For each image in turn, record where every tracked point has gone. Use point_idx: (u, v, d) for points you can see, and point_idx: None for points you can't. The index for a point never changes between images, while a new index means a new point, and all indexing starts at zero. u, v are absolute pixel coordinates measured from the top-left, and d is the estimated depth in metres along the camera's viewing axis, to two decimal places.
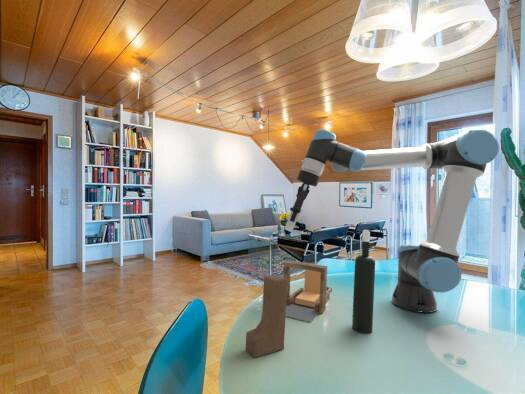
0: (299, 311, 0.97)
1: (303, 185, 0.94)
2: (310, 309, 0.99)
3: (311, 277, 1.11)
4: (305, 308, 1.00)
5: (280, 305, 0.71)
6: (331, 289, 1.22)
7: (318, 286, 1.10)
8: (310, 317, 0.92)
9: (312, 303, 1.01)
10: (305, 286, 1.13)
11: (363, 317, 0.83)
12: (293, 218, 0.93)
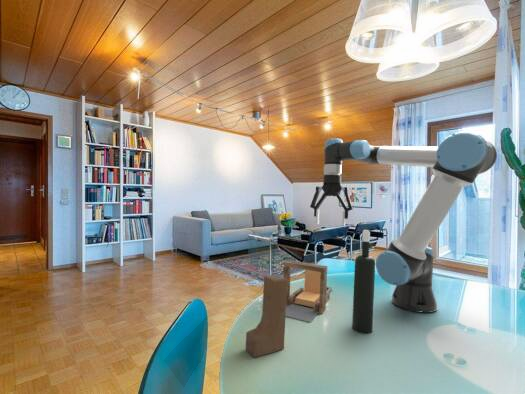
0: (299, 311, 0.97)
1: None
2: (310, 309, 0.99)
3: (311, 277, 1.11)
4: (305, 308, 1.00)
5: (280, 305, 0.71)
6: (331, 289, 1.22)
7: (318, 286, 1.10)
8: (310, 317, 0.92)
9: (312, 303, 1.01)
10: (305, 286, 1.13)
11: (363, 317, 0.83)
12: None
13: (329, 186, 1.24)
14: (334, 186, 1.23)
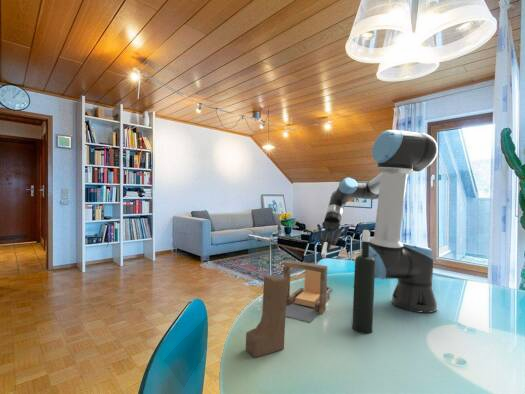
0: (299, 311, 0.97)
1: None
2: (310, 309, 0.99)
3: (311, 277, 1.11)
4: (305, 308, 1.00)
5: (280, 305, 0.71)
6: (331, 289, 1.22)
7: (318, 286, 1.10)
8: (310, 317, 0.92)
9: (312, 303, 1.01)
10: (305, 286, 1.13)
11: (363, 317, 0.83)
12: None
13: (328, 220, 1.36)
14: (335, 221, 1.34)
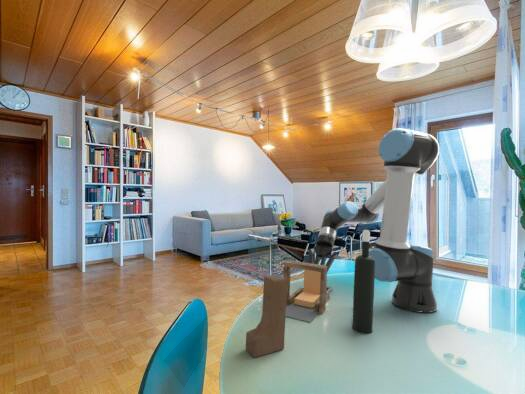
0: (299, 311, 0.97)
1: None
2: (310, 309, 0.99)
3: (311, 278, 1.11)
4: (305, 308, 1.00)
5: (280, 305, 0.71)
6: (331, 289, 1.22)
7: (317, 287, 1.09)
8: (310, 317, 0.92)
9: (311, 304, 1.00)
10: (304, 287, 1.12)
11: (363, 317, 0.83)
12: None
13: (320, 244, 1.26)
14: (328, 245, 1.24)
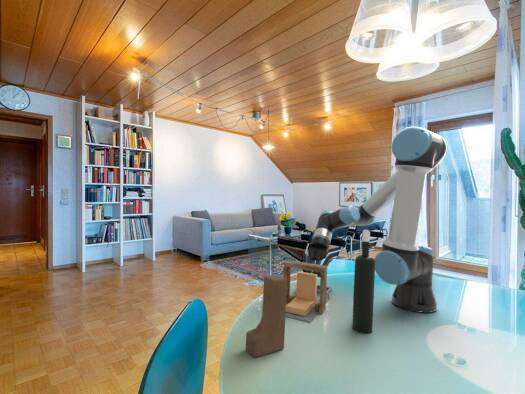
0: None
1: None
2: None
3: (304, 283, 1.03)
4: None
5: (280, 305, 0.71)
6: (331, 289, 1.22)
7: (311, 292, 1.02)
8: (310, 317, 0.92)
9: (304, 312, 0.93)
10: (297, 292, 1.04)
11: (363, 317, 0.83)
12: None
13: (315, 246, 1.18)
14: (323, 248, 1.17)
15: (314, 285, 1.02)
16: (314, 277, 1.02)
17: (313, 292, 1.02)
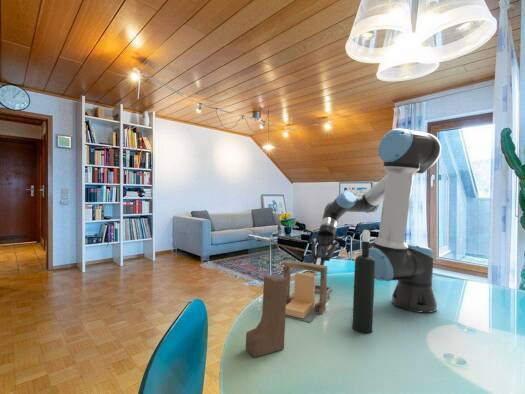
0: None
1: (311, 242, 1.30)
2: None
3: (302, 284, 1.01)
4: None
5: (280, 305, 0.71)
6: (331, 289, 1.22)
7: (309, 294, 1.00)
8: (310, 317, 0.92)
9: (301, 314, 0.91)
10: (295, 294, 1.02)
11: (363, 317, 0.83)
12: None
13: (322, 234, 1.29)
14: (329, 235, 1.27)
15: (312, 287, 1.00)
16: (312, 278, 1.00)
17: (311, 294, 1.00)
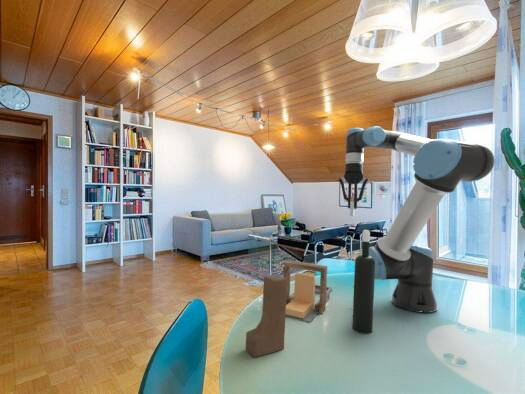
0: None
1: None
2: None
3: (302, 284, 1.01)
4: None
5: (280, 305, 0.71)
6: (331, 289, 1.22)
7: (309, 294, 1.00)
8: (310, 317, 0.92)
9: (301, 314, 0.91)
10: (295, 294, 1.02)
11: (363, 317, 0.83)
12: None
13: (349, 172, 1.27)
14: (358, 172, 1.26)
15: (312, 287, 1.00)
16: (312, 278, 1.00)
17: (311, 294, 1.00)
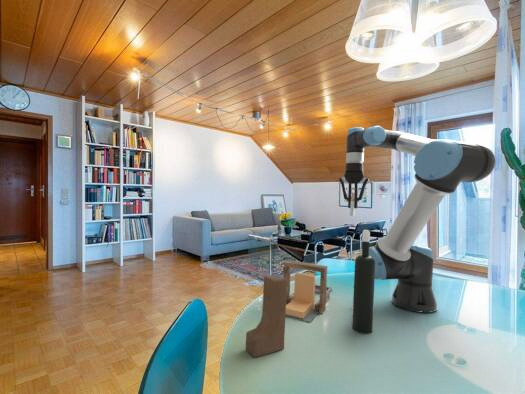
0: None
1: None
2: None
3: (302, 284, 1.01)
4: None
5: (280, 305, 0.71)
6: (331, 289, 1.22)
7: (309, 294, 1.00)
8: (310, 317, 0.92)
9: (301, 314, 0.91)
10: (295, 294, 1.02)
11: (363, 317, 0.83)
12: None
13: (350, 171, 1.27)
14: (358, 172, 1.25)
15: (312, 287, 1.00)
16: (312, 278, 1.00)
17: (311, 294, 1.00)
